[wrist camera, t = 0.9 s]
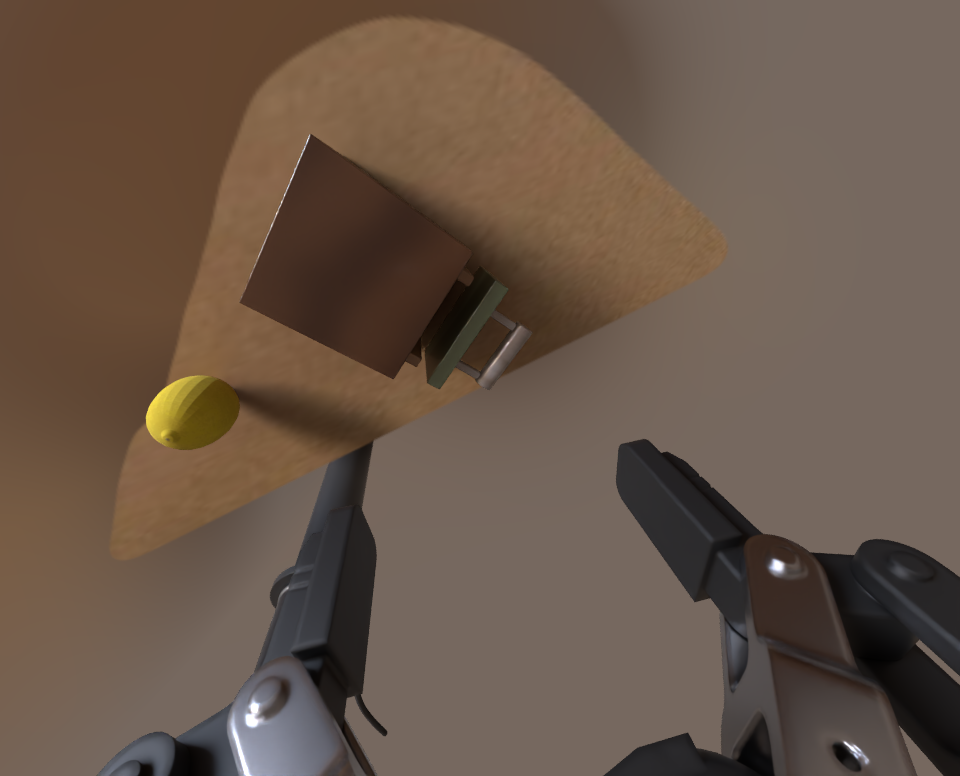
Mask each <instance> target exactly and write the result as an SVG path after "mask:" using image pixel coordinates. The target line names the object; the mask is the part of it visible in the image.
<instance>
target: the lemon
mask: <svg viewBox="0 0 960 776" xmlns="http://www.w3.org/2000/svg"><path fill="white" fill-rule="evenodd" d="M239 409H240V404H239V398H238V396H237V394H236V392H235V391H234V389H233V388H232V387H231V386H230V385H228V384H227V383H226V382H224V381H222V380H220V379H218V378H214V377H210V376H190V377H187V378H184V379H180V380H178V381H175V382H174V383H172V384H170V385H169V386H167V387H166V388H164V389H163V390H162V391H161V392H160V393H159V394H158V395H157V396H156V398H155V399H154V401H153V402H152V403H151V405H150V406H149V409H148V412H147V416H146V423H147V428H148V430H149V432H150V434H151V435H152V436H153V438H154V439H155V440H157V441H158V442H159V443H161V444H163V445H165V446H167V447H170V448H173V449H179V450H192V449H197V448H201V447H204V446H206V445H209V444H211V443H213V442H215V441H216V440H218V439H219V438H221V437H222V436H223V435H224V434H225V433H226V432H228V431H229V430H230V428H231V427H232V426H233V424H234V422H235V421H236V419H237V417H238V413H239Z"/></svg>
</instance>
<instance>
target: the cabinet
mask: <svg viewBox="0 0 960 776" xmlns="http://www.w3.org/2000/svg"><path fill="white" fill-rule="evenodd" d="M472 254H473V252H472V251H471V250H470V249H468V248H467V247H466V246H465V245H463V244H462V243H461V242H460V241H458V240H457V239H456V238H454V237H453V236H452V235H450V234H449V233H447V232H446V231H445V230H443V229H442V228H441V227H439V226H438V225H437V224H435V223H434V222H432V221H431V220H430V219H428V218H427V217H426V216H424V215H423V214H422V213H420V212H419V211H417V210H416V209H415V208H413V207H412V206H411V205H409V204H408V203H407V202H405V201H404V200H402V199H401V198H400V197H398V196H397V195H396V194H394V193H393V192H391V191H390V190H389V189H387V188H386V187H385V186H383V185H382V184H381V183H379V182H378V181H376V180H375V179H374V178H372V177H371V176H370V175H368V174H367V173H366V172H364V171H363V170H361V169H360V168H359V167H357V166H356V165H355V164H353V163H352V162H350V161H349V160H348V159H346V158H345V157H344V156H342V155H341V154H339V153H338V152H337V151H335V150H334V149H332V148H331V147H329V146H328V145H326V144H325V143H323V142H322V141H320V140H319V139H318V138H316V137H315V136H313V135H312V134H310V135H309V138H308V140H307V142H306V145H305V147H304V149H303V152H302V154H301V157H300V159H299V161H298V164H297V166H296V168H295V171H294V173H293V176H292V178H291V180H290V183H289V185H288V187H287V190H286V192H285V194H284V197H283V199H282V202H281V204H280V206H279V209H278V211H277V213H276V216H275V218H274V221H273V223H272V225H271V228H270V230H269V232H268V235H267V237H266V240H265V242H264V244H263V247H262V249H261V251H260V254H259V256H258V259H257V261H256V263H255V266H254V268H253V270H252V273H251V275H250V278H249V280H248V282H247V285H246V287H245V289H244V292H243V294H242V296H241V299H240V301H239V302H240V303H241V304H243V305H245V306H247V307H249V308H251V309H253V310H255V311H257V312H259V313H261V314H263V315H265V316H267V317H269V318H271V319H273V320H275V321H277V322H279V323H281V324H283V325H285V326H287V327H289V328H291V329H293V330H295V331H297V332H299V333H301V334H303V335H305V336H307V337H309V338H311V339H313V340H315V341H317V342H319V343H321V344H323V345H325V346H328V347H330V348H332V349H334V350H336V351H338V352H340V353H342V354H344V355H346V356H348V357H350V358H352V359H354V360H356V361H358V362H360V363H362V364H364V365H366V366H368V367H370V368H372V369H374V370H376V371H378V372H380V373H382V374H384V375H386V376H388V377H390V378H392V379H394V378H395V376H396V375H397V373H398V372H399V370H400V368H401V367H402V365H403V364H404V362H405V360H406V359H407V357H408V356H409V354H410V353H411V351H412V349H413V348H414V346H415V345H416V343H417V341H418V340H419V338H420V337H421V335H422V334H423V332H424V330H425V329H426V327H427V326H428V324H429V322H430V321H431V319H432V318H433V316H434V315H435V313H436V311H437V310H438V308H439V307H440V305H441V303H442V302H443V300H444V299H445V297H446V296H447V294H448V292H449V291H450V289H451V288H452V286H453V284H454V283H455V281H456V280H457V278H458V277H459V275H460V273H461V272H462V270H463V269H464V267H465V265H466V264H467V262H468V261H469V259H470V258H471V256H472Z"/></svg>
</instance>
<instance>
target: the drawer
mask: <svg viewBox="0 0 960 776" xmlns="http://www.w3.org/2000/svg"><path fill="white" fill-rule="evenodd" d="M457 280H459V281H460V282H462V283H463V284H465V285H466V288H465V290H464V291H463V293H462V294H461V296H460V297H459V299H458V300H457V302H456V303H455V305H454V307H453V308H452V310H451V311H450V313H449V314H448V316H447V317H446V319H445V320H444V322H443V324H442V325H441V327H440V328H439V330H438V331H437V333H436V334H435V336H434V337H433V339H432V341H431V342H430V344H429V345H428V347H427V348H426V350H425V361H426V375H427V383H428V384H430V385H432V386H434V387H436V388H438V389H440V388H441V387H442V385H443V384H444V382H445V381H446V380H447V378H448V377H449V375H450V374H451V372H452V371H453V369H454V368H455V367H456V368H458V369H459V370H461V371H463V372H465V373H467V374H468V375H470V376H472V377H474V378H475V380H476V382H477V383H478V384H479V385H480V386H482V387H483V388H485V389H488V390H490V389H491V388H492V386H493V385H494V384H495V382H496V381H497V380H498V378H499V377H500V376H501V374H502V373H503V372H504V370H505V369H506V368H507V366H508V365H509V364H510V362H511V361H512V360H513V358H514V357H515V356H516V354H517V353H518V352H519V350H520V349H521V348H522V346H523V345H524V344H525V342H526V341H527V340H528V338H529V337H530V336H531V334H532V333H533V332H532V331H531V330H530V329H529V328H527V327H526V326H525V325H523V324H522V323H520V322H518V321H516V323H515V322H513V321H512V320H510V319H509V318H507V317H506V316H504V315H503V314H501V313H500V312H498V311H497V310H495V309H496V307H497V306H498V304H499V303H500V301H501V300H502V299H503V297H504V296H505V294H506V293H507V291H508V288H507V287H506V286H505V285H503V284H502V283H501V282H500V281H499V280H498V279H497V278H496V277H495V276H493V275H492V274H491V273H490V272H489V271H487V270H486V269H484V268H483V267H482V266H479V268H478V269H477V271H476V272H475V274H474V276H473V275H472V274H471V273H470V272H469V270H468V269H467V268H466V267H464V269H463V270H462V272H461V273H460V275H459V277H458V278H457ZM489 317H492V318H493V319H495V320H497V321H498V322H500V323H501V324H503V325H504V326H506V327H507V328H509V329H510V331H509V333H508V334H507V335H506V337H505V338H504V339H503V341H502V342H501V344H500V345H499V346H498V348H497V349H496V351H495V352H494V353H493V355H492V356H491V357H490V359H489V360H488V362H487V363H486V364H485V366H484V367H483V368H482V370H481V371H479V370H477V369H475V368H473V367H472V366H470V365H468V364H466V363H465V362H463V361H461V360H460V359H461V358H462V356H463V355H464V354H465V352H466V351H467V349H468V348H469V346H470V345H471V343H472V342H473V340H474V339H475V338H476V336H477V335H478V333H479V332H480V330H481V329H482V327H483V326H484V325H485V323H486V322H487V320H488V319H489ZM421 360H422V357H421V337H420V338H419V340H418V341H417V343H416V345H415V346H414V348H413V349H412V351H411V353H410V354H409V356H408V357H407V359H406V360H405V361H406V362H408V363H410V364H412V365H414V366H415V367H417V366H418V364H419V363H420V361H421Z"/></svg>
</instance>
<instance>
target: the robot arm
mask: <svg viewBox="0 0 960 776" xmlns="http://www.w3.org/2000/svg"><path fill="white" fill-rule="evenodd" d="M616 484H617V488H618V492H619V494H620V496H621V499H622V500H623V502H624V503H625V504H626V506H627V507H628V509H629V510H630V511H631V513H632V514H633V516H634V517H635V519H636V520H637V521H638V523H639V524H640V525H641V527H642V528H643V530H644V531H645V533H646V534H647V535H648V537H649V538H650V540H651V541H652V543H653V544H654V545H655V547H656V548H657V550H658V551H659V552H660V554H661V555H662V557H663V558H664V560H665V561H666V562H667V564H668V565H669V567H670V568H671V569H672V571H673V572H674V573H675V575H676V576H677V578H678V579H679V581H680V582H681V583H682V585H683V586H684V588H685V589H686V591H687V592H688V593H689V595H690V596H691V598H692V599H693V600H694V602H697V601H701V600H705V599H708V598H711V599H712V601H713V602H714V603H715V605H716V606H717V607H718V608H719V610H720V632H721V648H722V665H723V680H724V709H723V715H722V725H721V752H722V755H721V754H718V753H716V752H712V751H707V750H704V749H697V748H696V747H695V745H694V743H693V741H692V739H691V737H690V736H689V734H688V733H685V734H681V735H678V736H675V737H672V738H668V739H665V740H662V741H658V742H655V743H652V744H648V745H645V746H642V747H639V748H637V749H635V750H634V751H633V752H632V753H631V754H630V755H628V756H627V757H626V758H624V759H623V760H622V761H621V762H620V763H618V764H617V765H616V766H615V767H614V768H612V769H611V770H610V771H609V772H608V773H606V774H605V775H604V776H917V774H916V771H915V769H914V766H913V763H912V760H911V758H910V755H909V752H908V749H907V747H906V744H905V742H904V739H903V736H902V733H901V731H900V728H899V726H900V727H901V728H902V729H903V730H904V731H905V732H906V734H907V735H908V736H909V737H910V738H911V739H912V740H913V742H914V743H915V744H916V745H917V746H918V747H919V748H920V750H921V751H922V752H923V753H924V754H925V755H926V756H927V757H928V759H929V760H930V761H931V762H932V763H933V764H934V765H935V767H936V768H937V769H938V770H939V771H940V772H941V773H942V774H943V776H960V685H959V684H958V683H957V682H955V681H954V680H953V679H952V678H951V677H950V676H949V675H948V674H947V673H946V672H945V671H944V670H943V669H942V668H940V667H939V666H938V665H937V664H936V663H935V662H934V661H933V660H932V659H931V658H930V657H929V656H927V655H926V654H925V653H924V652H923V651H922V650H921V649H920V648H919V647H918V646H917V645H916V642H918V640H919V639H920V640H921V641H922V642H923V643H924V644H925V645H926V646H927V647H929V648H930V649H931V650H932V651H933V652H934V653H935V654H936V655H937V656H938V657H939V658H941V659H942V660H943V661H944V662H945V663H946V664H947V665H948V666H949V667H950V668H952V669H953V670H954V671H955V672H956V673H957V674H958V675H959V676H960V577H958V576H957V575H956V574H955V573H953V572H952V571H950V570H949V569H948V568H946V567H945V566H943V565H942V564H940V563H939V562H938V561H936V560H935V559H933V558H932V557H930V556H928V555H926V554H925V553H923V552H920V551H919V550H916V549H915V548H912V547H910V546H907V545H904V544H901V543H898V542H894V541H889V540H883V539H882V540H881V539H873V540H868V541H866V542H864V543H862V544H861V546H860V547H859V549H858V550H857V552H856V554H855V555H842V554H825V553H811V552H809V551H808V550H806V549H805V548H803V547H802V546H800V545H799V544H797V543H795V542H793V541H790V540H788V539H786V538H783V537H779V536H775V535H768V534H763V533H761V532H760V531H759V530H758V529H757V528H756V527H754V526H753V525H752V524H751V523H750V522H749V521H748V520H747V519H746V518H745V517H744V516H743V515H742V514H741V513H740V512H738V511H737V510H736V509H735V508H734V507H733V506H732V505H731V504H730V503H729V502H728V501H727V500H726V499H725V498H724V497H723V496H721V494H719V493H718V492H717V491H716V490H715V489H714V488H711V487H710V484H709V483H708V482H707V481H706V480H704V478H702V477H700V476H699V474H698V473H697V472H696V471H695V470H694V469H693V468H692V467H691V466H690V465H689V464H688V463H686V462H685V461H684V460H682V459H680V458H678V457H676V456H674V455H673V454H671V453H669V452H663V453H661V452H660V451H658V449H657V448H656V447H655V446H654V445H653V444H652V443H651V442H649V441H648V440H646V439H642V440H637V441H633V442H629V443H624V444H621V445H620V446H619V450H618V462H617V475H616ZM376 556H377V555H376V545H375V540H374V538H373V535H372V533H371V530H370V528H369V525H368V523H367V521H366V519H365V516H364V514H363V512H362V509H361V507H360V506H359V505H358V504H356V505H351V506H347V507H342V508H338V509H333V510H331V511H330V512H329V514H328V516H327V520H326V524H325V527H324V531H322V532H318V533H313V534H312V536H311V537H310V538H309V540H308V541H307V543H306V544H305V545H304V547H303V548H302V550H301V551H300V553H299V556H298V559H297V562H296V565H295V568H294V575H292V578H291V581H290V582H289V583H288V584H287V585H286V586H285V587H284V588H283V589H282V591H281V593H280V596H279V599H278V603H277V607H276V610H275V613H274V616H273V619H272V621H271V624H270V627H269V630H268V633H267V636H266V639H265V642H264V644H263V647H262V650H261V653H260V656H259V659H258V662H257V665H256V668H255V671H254V673H253V674H252V675H251V676H250V678H249V679H248V680H247V681H246V682H245V684H244V685H243V686H242V688H241V689H240V690H239V692H238V694H237V696H236V697H235V699H234V701H233V702H232V703H231V704H229V705H228V706H227V707H225V708H224V709H223V710H221V711H220V712H218V713H216V714H215V715H213V716H211V717H210V718H208V719H207V720H205V721H203V722H202V723H200V724H198V725H197V726H195V727H193V728H192V729H190V730H189V731H187V732H185V733H183V734H182V735H180V736H179V737H177V738H173V737H172V736H170V735H169V734H167V733H164V732H154V733H149V734H147V735H145V736H142V737H141V738H139V739H137V740H135V741H133V742H132V743H131V744H129V745H128V746H127V747H125V748H124V749H123V750H121V751H120V752H119V753H118V754H117V755H116V756H115V757H114V758H113V759H111V760H110V761H109V762H108V763H107V765H106V766H105V767H104V768H103V769H102V770H101V771H100V772H99V774H98V775H97V776H378V775H377V773H376V772H375V770H374V768H373V766H372V764H371V762H370V760H369V758H368V757H367V755H366V753H365V751H364V749H363V748H362V746H361V744H360V742H359V741H358V738H357V737H356V735H355V733H354V731H353V730H352V728H351V726H350V724H349V722H348V720H347V719H346V718H345V716H344V714H345V707H346V699H347V698H348V697H352V696H355V699H356V702H357V704H358V706H359V708H360V710H361V712H362V713H363V715H364V716H365V717H366V719H367V720H368V721H369V722H370V723H371V724H372V726H373V727H374V728H375V729H376V730H378V731H379V732H380V733H381V734H382V735H383V736H386V735H387V730H386V729H385V728H384V727H383V726H381V724H380V723H379V722H378V721H377V720H376V719H375V718H374V717H373V716H372V715H371V713H370V712H369V711H368V709H367V708H366V706H365V704H364V702H363V700H362V697H361V694H362V691H363V683H364V672H365V664H366V654H367V645H368V635H369V625H370V615H371V606H372V597H373V588H374V577H375V568H376Z"/></svg>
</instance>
